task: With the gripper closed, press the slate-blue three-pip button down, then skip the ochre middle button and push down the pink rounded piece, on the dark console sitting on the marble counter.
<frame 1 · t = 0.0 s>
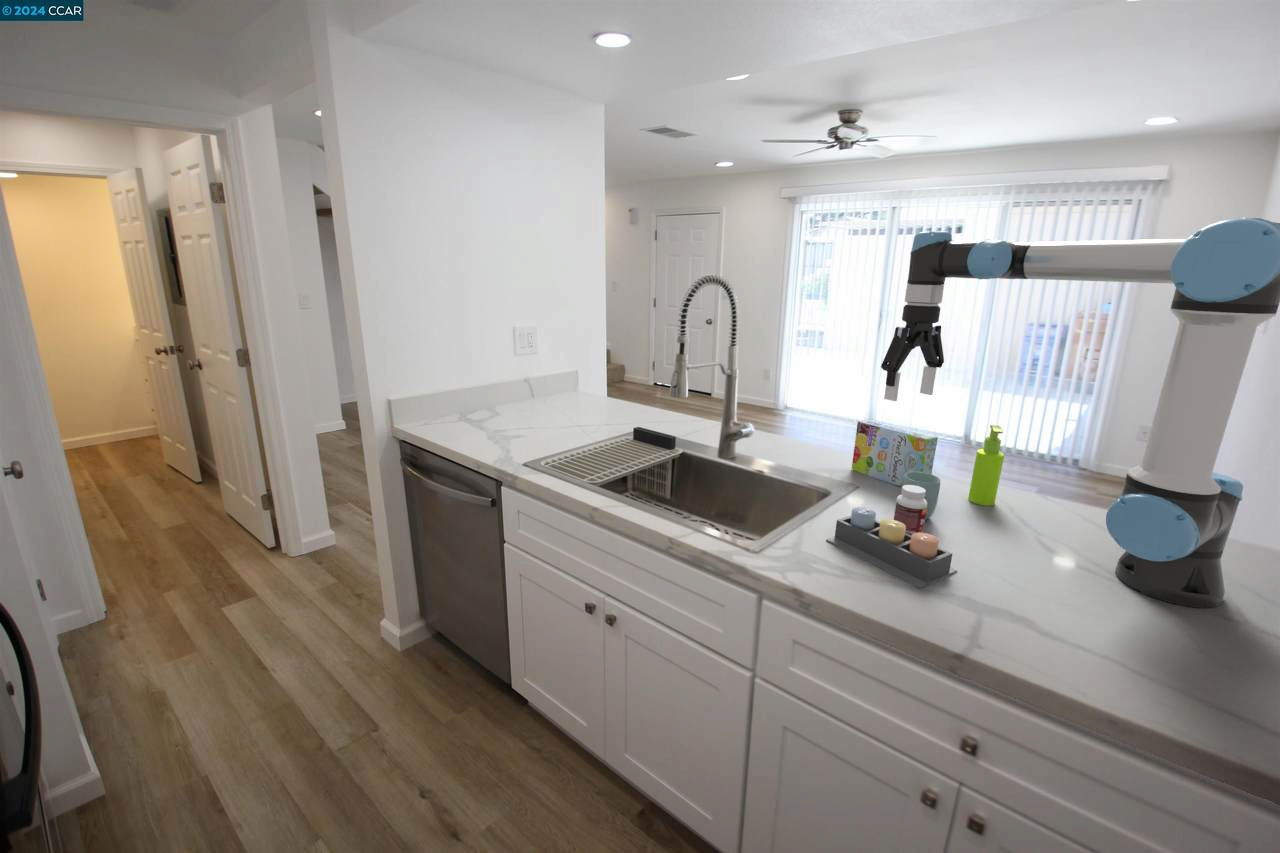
hand: (908, 396, 135), 28 cm above the worktop, fingers open, 13 cm apart
pill bottle: (906, 535, 128), on the worktop
snack box: (888, 480, 161), on the worktop
cup: (915, 517, 137), on the worktop
pink rounded piece 1: (923, 548, 111), point 5 cm above the worktop, slide at 0.0 cm
button 3: (862, 521, 123), point 5 cm above the worktop, slide at 0.0 cm
soap dispenser: (981, 502, 147), on the worktop
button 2: (891, 534, 117), point 5 cm above the worktop, slide at 0.0 cm
console: (888, 555, 118), on the worktop
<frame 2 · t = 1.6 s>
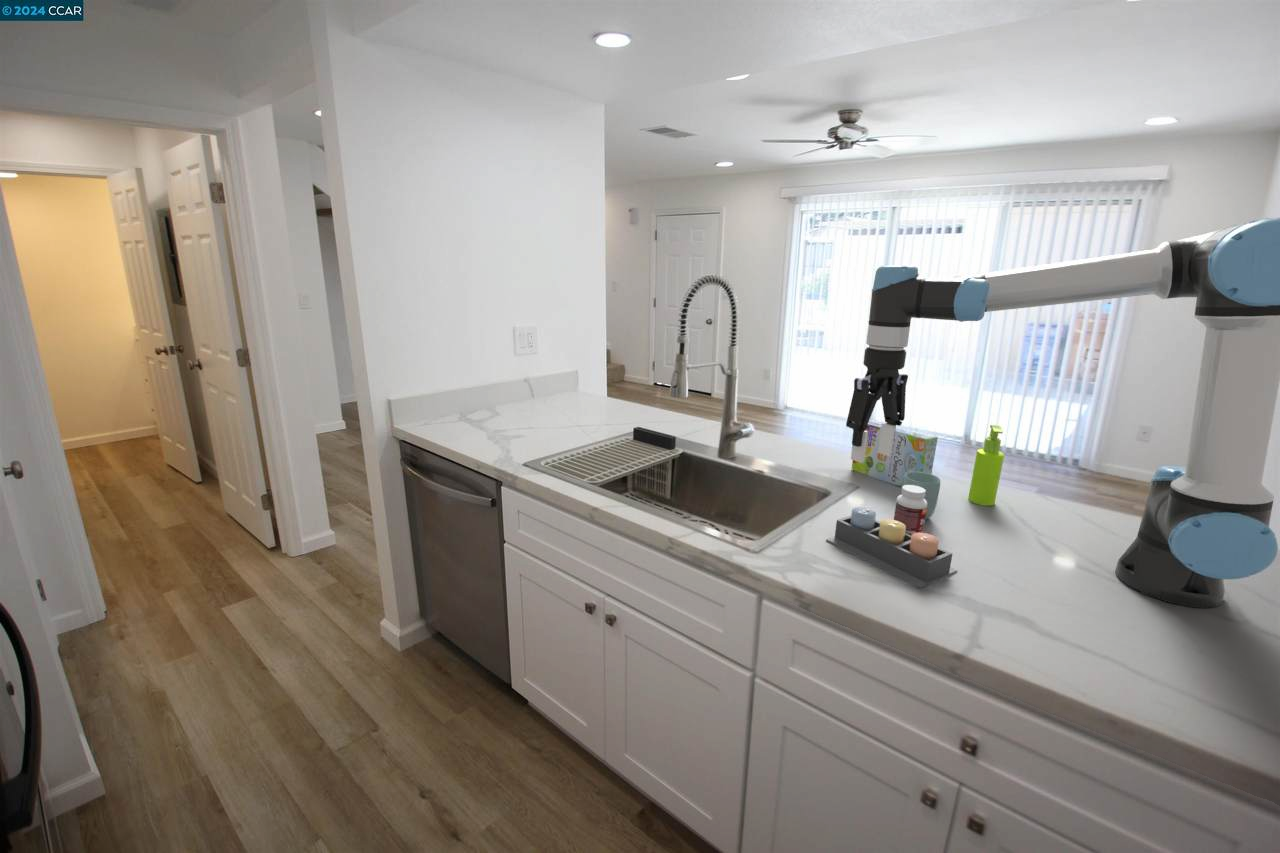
hand: (871, 457, 119), 19 cm above the worktop, fingers open, 8 cm apart
nothing on the worktop moved.
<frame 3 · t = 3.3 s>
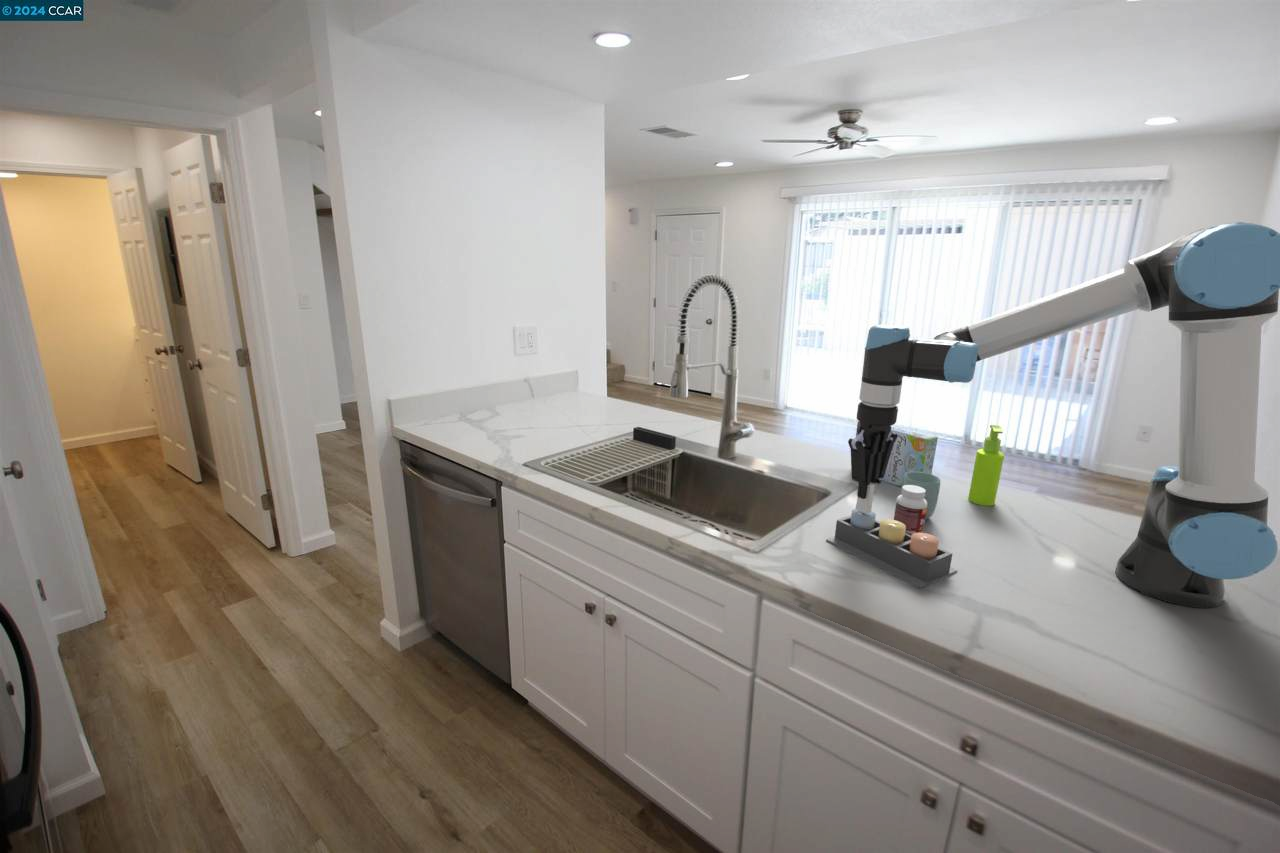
hand: (863, 510, 122), 7 cm above the worktop, fingers closed
button 3: (862, 522, 123), point 5 cm above the worktop, slide at 0.3 cm, touching gripper
everything else where it was.
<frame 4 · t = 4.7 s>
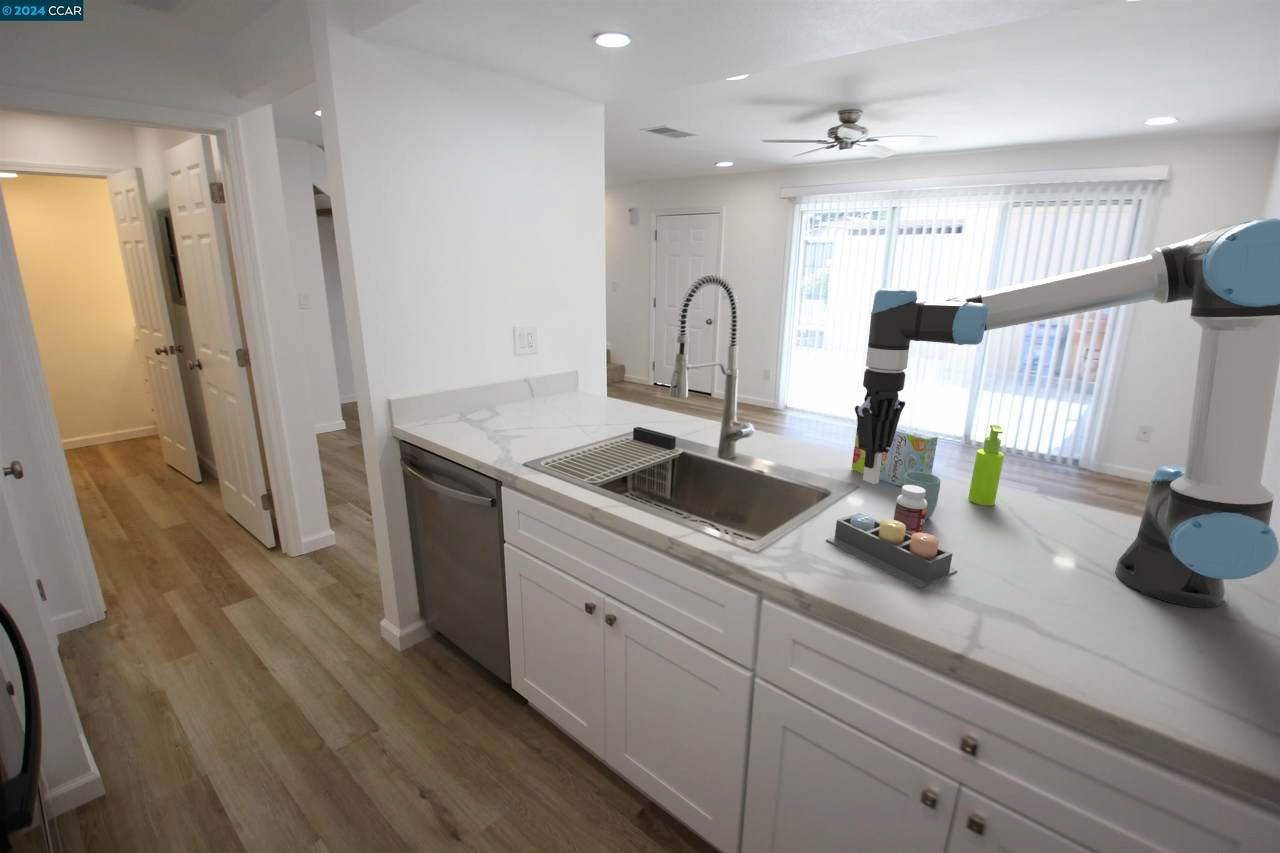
hand: (870, 481, 120), 14 cm above the worktop, fingers closed
button 3: (861, 528, 123), point 3 cm above the worktop, slide at 1.8 cm
everything else where it was.
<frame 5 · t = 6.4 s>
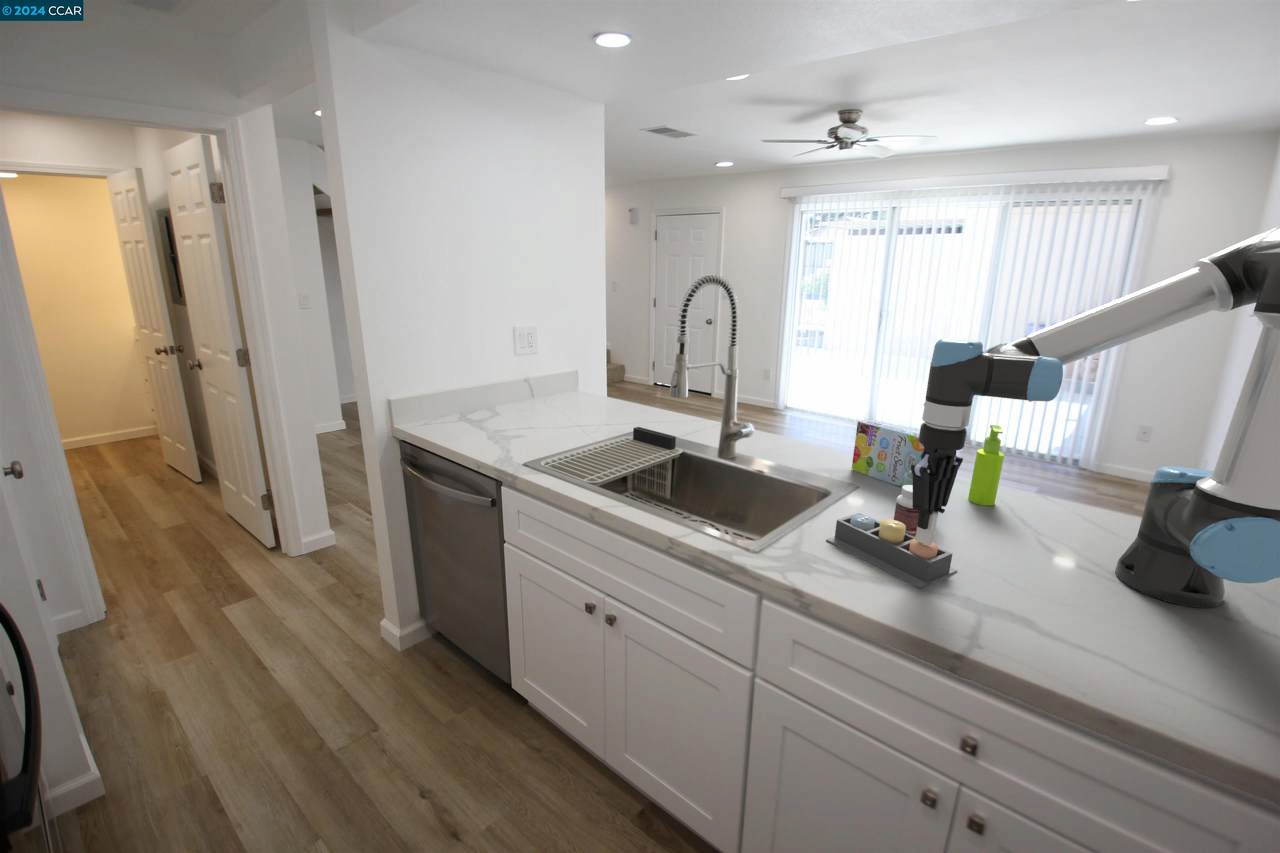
hand: (923, 542, 111), 6 cm above the worktop, fingers closed
pink rounded piece 1: (922, 554, 112), point 4 cm above the worktop, slide at 1.3 cm, touching gripper
everything else where it was.
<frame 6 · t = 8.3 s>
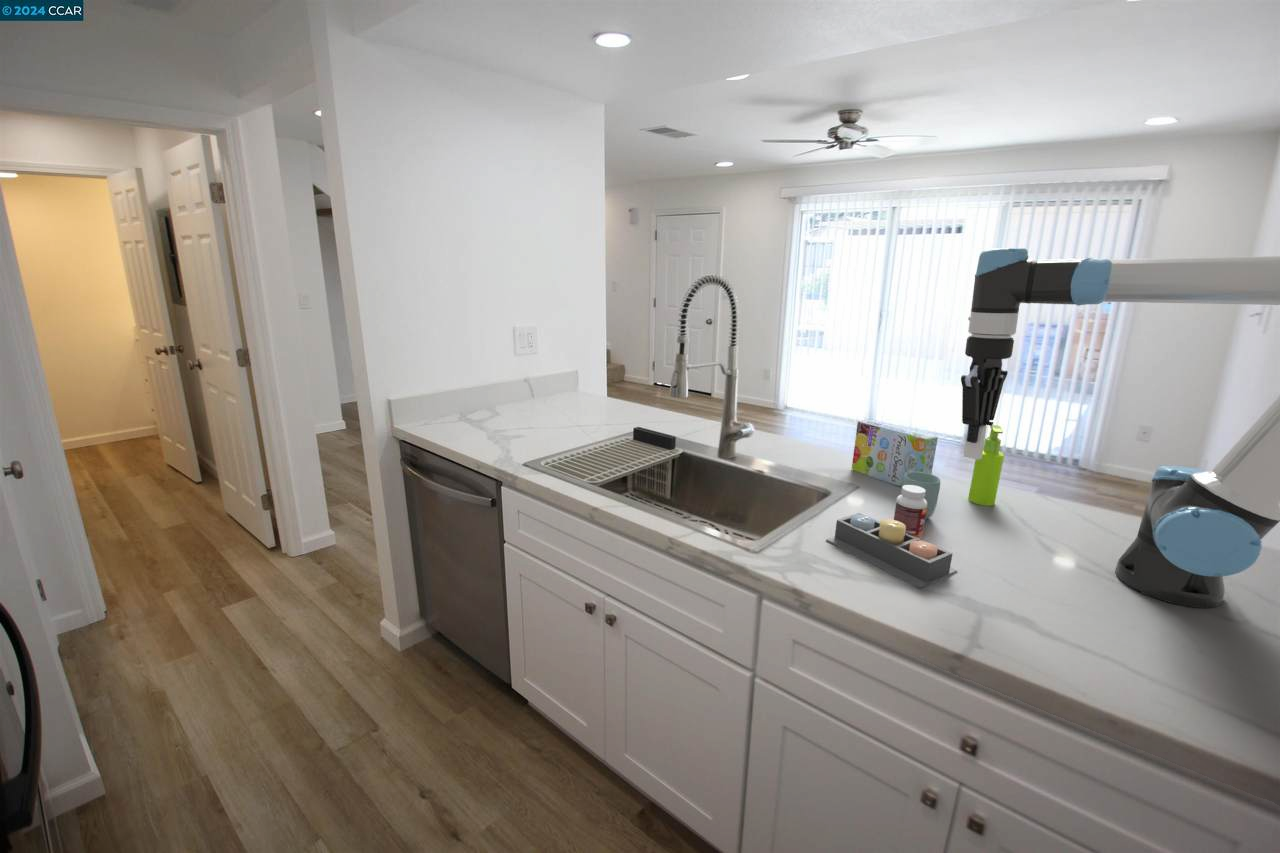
hand: (972, 457, 112), 22 cm above the worktop, fingers closed
pink rounded piece 1: (922, 556, 112), point 3 cm above the worktop, slide at 1.8 cm
everything else where it was.
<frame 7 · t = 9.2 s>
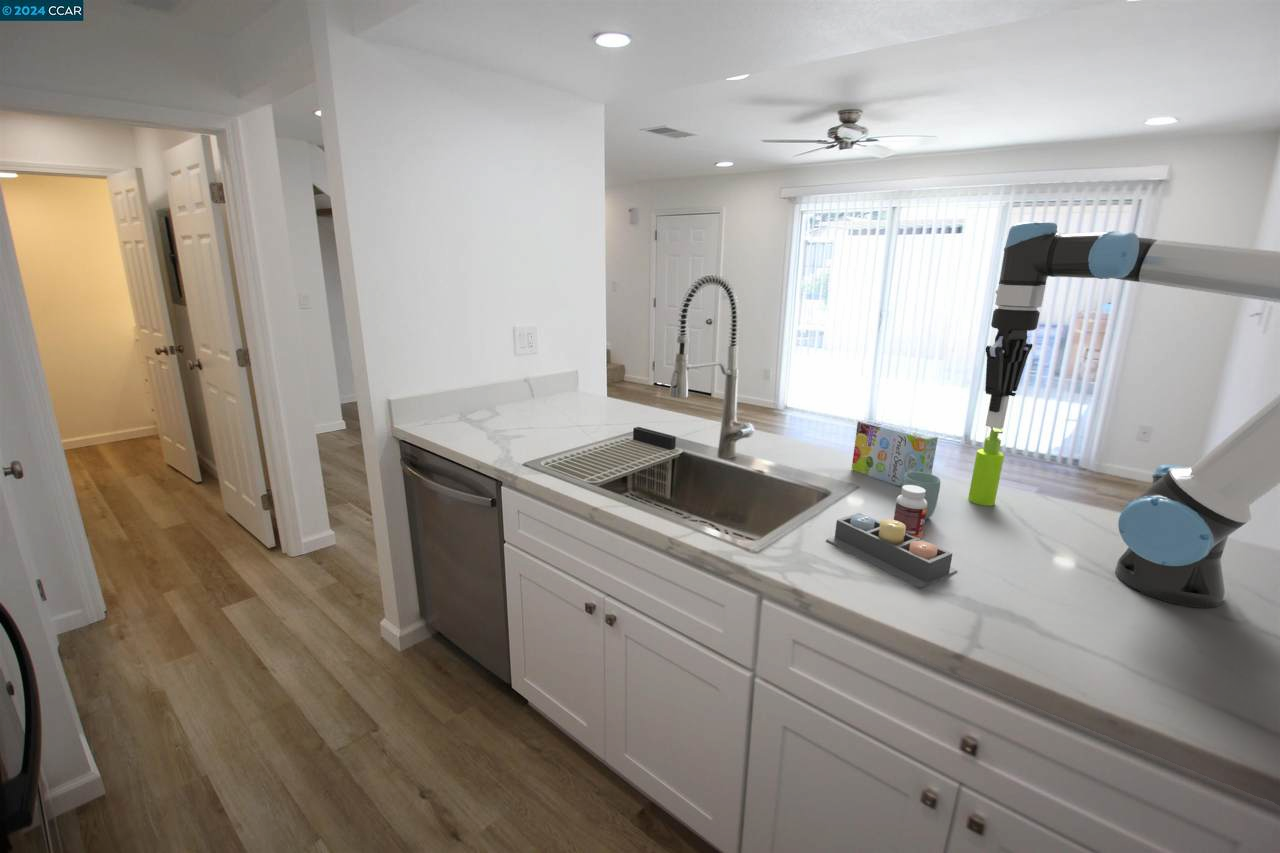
hand: (994, 426, 116), 26 cm above the worktop, fingers closed
nothing on the worktop moved.
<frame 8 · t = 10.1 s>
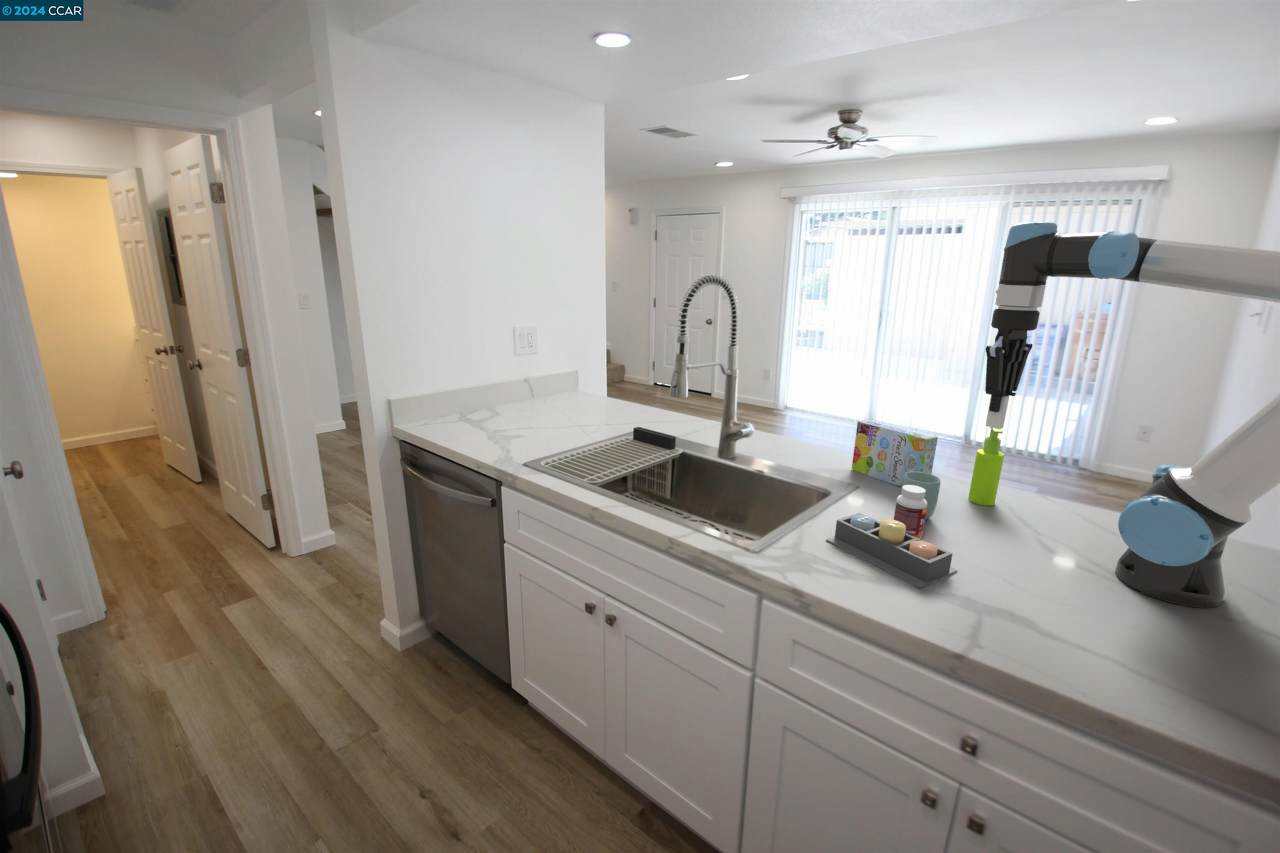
hand: (994, 426, 116), 26 cm above the worktop, fingers closed
nothing on the worktop moved.
at the end: button 3 slide at 1.8 cm; pink rounded piece 1 slide at 1.8 cm; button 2 slide at 0.0 cm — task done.
